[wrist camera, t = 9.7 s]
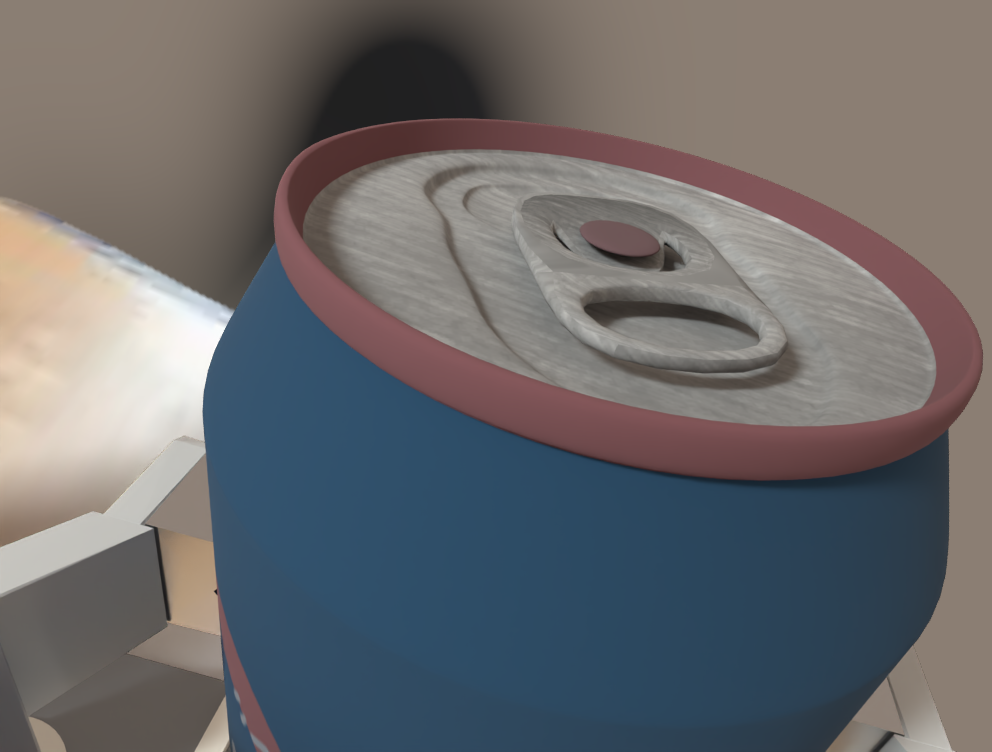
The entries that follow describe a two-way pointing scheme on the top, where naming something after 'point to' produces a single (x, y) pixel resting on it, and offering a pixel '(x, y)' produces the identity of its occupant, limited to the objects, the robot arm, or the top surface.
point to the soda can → (572, 452)
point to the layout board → (136, 711)
